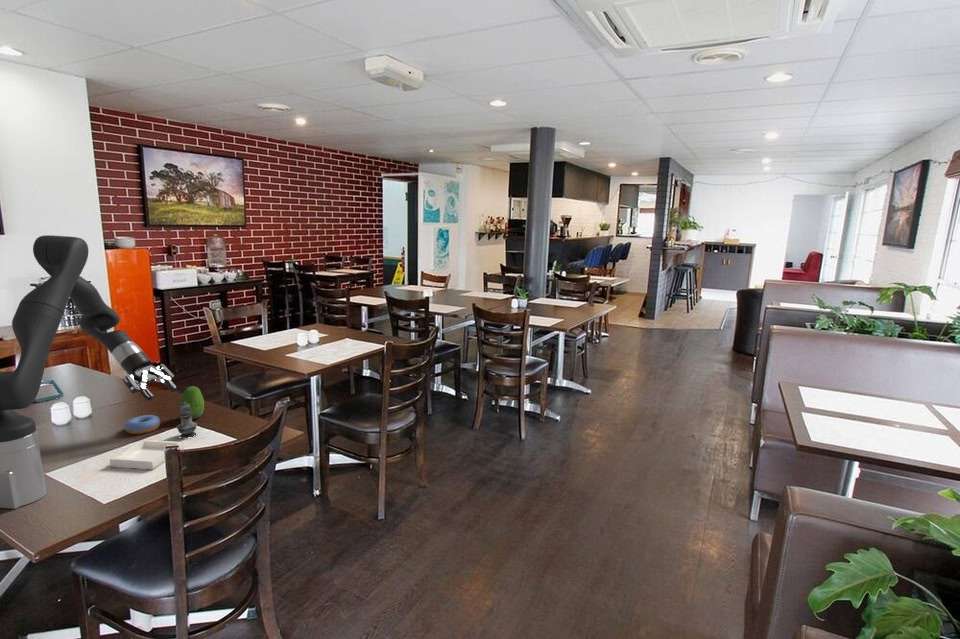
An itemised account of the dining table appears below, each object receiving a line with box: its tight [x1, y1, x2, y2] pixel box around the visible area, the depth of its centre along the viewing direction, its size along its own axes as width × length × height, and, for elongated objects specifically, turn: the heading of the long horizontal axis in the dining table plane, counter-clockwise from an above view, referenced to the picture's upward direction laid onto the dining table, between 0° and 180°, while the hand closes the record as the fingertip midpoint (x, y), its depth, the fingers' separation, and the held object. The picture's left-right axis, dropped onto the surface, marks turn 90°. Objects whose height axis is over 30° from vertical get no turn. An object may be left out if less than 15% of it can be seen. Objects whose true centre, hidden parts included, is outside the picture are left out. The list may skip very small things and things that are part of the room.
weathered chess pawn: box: [176, 401, 198, 438], centre depth 162 cm, size 6×6×12 cm
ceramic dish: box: [109, 439, 185, 471], centre depth 148 cm, size 13×13×2 cm
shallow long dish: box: [34, 379, 65, 403], centre depth 201 cm, size 26×9×2 cm, turn 47°
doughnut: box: [124, 414, 161, 435], centre depth 168 cm, size 10×10×5 cm
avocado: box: [178, 385, 205, 420], centre depth 177 cm, size 8×8×12 cm
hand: (163, 394), depth 163 cm, fingers open, 8 cm apart
